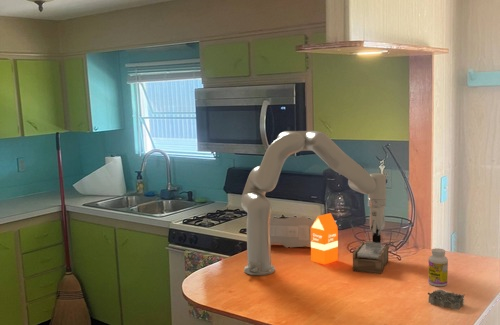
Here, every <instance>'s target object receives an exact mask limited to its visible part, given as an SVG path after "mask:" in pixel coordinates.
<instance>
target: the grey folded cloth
mask: <svg viewBox="0 0 500 325" xmlns="http://www.w3.org/2000/svg"><path fill="white" fill-rule="evenodd" d="M384 247H385V245H382V242H373V241H370V240H369V241H365V243H364V245H363V246H362V247H361V249H360V250H359V251H358V252H357V258H367V259H377V260H379V254H380V253H381V251H382V250H383V248H384Z"/></svg>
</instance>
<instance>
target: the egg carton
mask: <svg viewBox="0 0 500 325" xmlns="http://www.w3.org/2000/svg"><path fill="white" fill-rule="evenodd" d="M427 295H428V303H429V304H430V305H433V306H434V305H435V306H437V305H438V306H440V307H441V308H449V309H450V310H453V311H454V310H460V309H461V307H463V306H464V300H465V299H464V298H465V297H466V296H465V294H460V293H459V294H458V293H455V292H449V291H445V290H443V289H437V290H433V292H427Z"/></svg>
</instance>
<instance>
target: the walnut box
mask: <svg viewBox="0 0 500 325" xmlns="http://www.w3.org/2000/svg"><path fill="white" fill-rule="evenodd" d="M364 244H365V241H361V243H360V244H359V245H358V247H356V249H355V250H354V251H353V253H352V272H357V273H359V272H360V273H367V274H376V275H382V273H383V271H384V269H386V268H385V267H386V266H387V264H388V263H389V243H386V244H385V245H384V246H385V247H384V248H383V250H382V251H381V253H380V254H379V260H377V259H367V258H357V252H358V251H359V250H360V249H361V247H362V246H363V245H364Z"/></svg>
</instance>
